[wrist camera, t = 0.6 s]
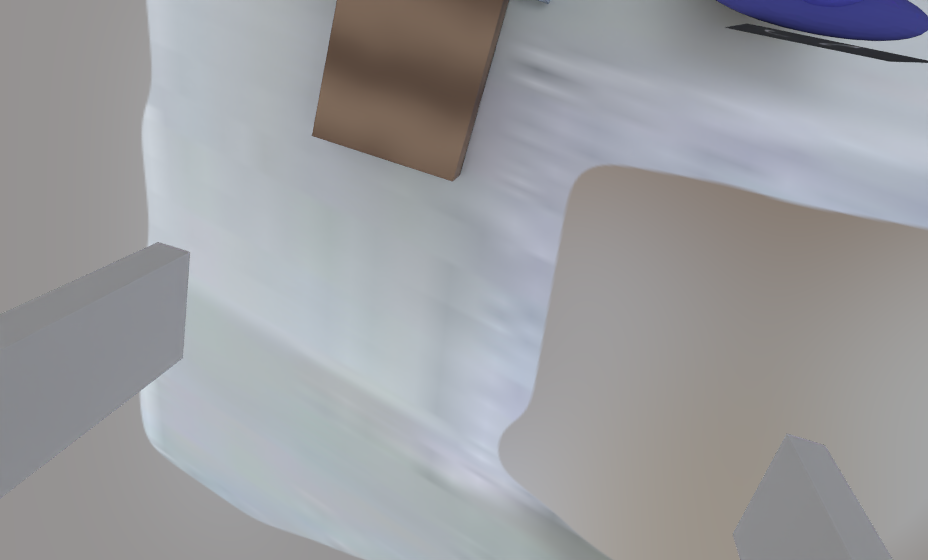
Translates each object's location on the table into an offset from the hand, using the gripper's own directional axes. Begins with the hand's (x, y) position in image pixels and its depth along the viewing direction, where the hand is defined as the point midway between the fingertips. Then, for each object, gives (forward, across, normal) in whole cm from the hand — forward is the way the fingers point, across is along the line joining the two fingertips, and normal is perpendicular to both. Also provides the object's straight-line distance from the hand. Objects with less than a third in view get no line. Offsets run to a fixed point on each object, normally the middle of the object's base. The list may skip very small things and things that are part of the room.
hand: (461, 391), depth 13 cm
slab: (+31, -10, +3) cm, 33 cm away
